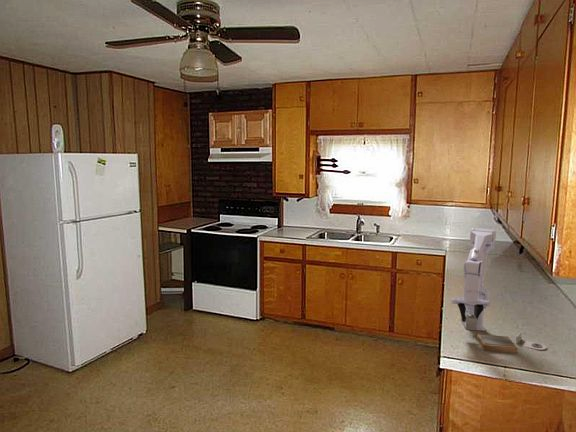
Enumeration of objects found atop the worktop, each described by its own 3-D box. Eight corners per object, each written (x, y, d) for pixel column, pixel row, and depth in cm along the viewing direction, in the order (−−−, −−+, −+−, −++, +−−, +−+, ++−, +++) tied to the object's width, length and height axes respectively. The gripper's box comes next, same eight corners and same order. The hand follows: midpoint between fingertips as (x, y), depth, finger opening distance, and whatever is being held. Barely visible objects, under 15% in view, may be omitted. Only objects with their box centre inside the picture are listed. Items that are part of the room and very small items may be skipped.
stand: (476, 339, 169) (477, 333, 169) (507, 341, 167) (508, 336, 167) (483, 350, 160) (484, 344, 159) (517, 353, 158) (517, 347, 157)
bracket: (544, 353, 159) (545, 344, 158) (515, 344, 165) (516, 336, 165) (548, 347, 163) (548, 339, 163) (519, 339, 170) (520, 331, 170)
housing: (461, 320, 172) (462, 309, 171) (471, 321, 171) (472, 310, 171) (465, 328, 164) (466, 317, 163) (476, 329, 163) (477, 317, 163)
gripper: (454, 291, 163) (452, 323, 165) (493, 294, 160) (490, 326, 162) (450, 286, 170) (448, 317, 172) (488, 288, 167) (485, 320, 169)
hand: (468, 321), depth 168 cm, fingers closed on housing, 4 cm apart
